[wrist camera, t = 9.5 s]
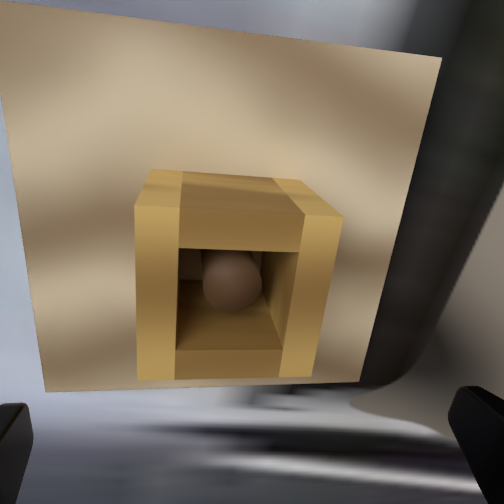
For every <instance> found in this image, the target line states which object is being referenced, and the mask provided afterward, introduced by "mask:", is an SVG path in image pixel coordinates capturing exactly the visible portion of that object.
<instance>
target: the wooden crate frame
mask: <svg viewBox="0 0 504 504" xmlns="http://www.w3.org/2000/svg"><path fill="white" fill-rule="evenodd" d="M134 218H135V278H136V339H137V381H147V380H191V379H235V378H278V377H311V375H312V370H313V365H314V360H315V355H316V350H317V346H318V341H319V336H320V331H321V326H322V321H323V316H324V312H325V307H326V302H327V297H328V292H329V287H330V282H331V278H332V273H333V268H334V263H335V258H336V253H337V249H338V244H339V239H340V234H341V229H342V224H343V219H344V216H342V215H341V214H340V213H339V212H338V211H336V210H335V209H334V208H333V207H332V206H330V205H329V204H328V203H327V202H326V201H324V200H323V199H322V198H321V197H320V196H318V195H317V194H316V193H315V192H314V191H313V190H311V189H310V188H309V187H308V186H307V185H305V184H304V183H303V182H302V181H301V180H297V179H283V178H270V177H256V176H242V175H229V174H215V173H202V172H188V171H174V170H161V169H151V171H150V173H149V175H148V177H147V179H146V181H145V184H144V186H143V188H142V190H141V192H140V194H139V196H138V198H137V200H136V203H135V205H134ZM180 248H194V249H220V250H246V251H263V252H262V260H261V268H260V276H261V279H262V289H261V293H260V295H259V297H258V298H257V300H256V301H255V302H254V303H253V304H252V305H250V306H249V307H247V308H246V309H243V310H240V311H236V312H226V311H221V310H219V309H216V308H215V307H213V306H212V305H211V304H210V303H209V302H208V301H207V299H206V298H205V295H204V292H203V280H184V279H179V271H180Z"/></svg>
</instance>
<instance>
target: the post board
mask: <svg viewBox="0 0 504 504" xmlns="http://www.w3.org/2000/svg"><path fill="white" fill-rule="evenodd" d="M441 60H442V58H439V57H432V56H424V55H416V54H409V53H401V52H393V51H386V50H378V49H370V48H363V47H355V46H347V45H340V44H332V43H324V42H317V41H309V40H301V39H293V38H286V37H278V36H270V35H263V34H255V33H247V32H240V31H232V30H224V29H217V28H209V27H201V26H194V25H186V24H178V23H171V22H163V21H155V20H148V19H140V18H132V17H125V16H117V15H109V14H102V13H94V12H86V11H79V10H71V9H63V8H56V7H48V6H40V5H33V4H25V3H17V2H10V1H2V0H0V93H1V99H2V106H3V112H4V119H5V126H6V132H7V139H8V146H9V152H10V159H11V166H12V172H13V179H14V186H15V192H16V199H17V206H18V212H19V219H20V226H21V232H22V239H23V246H24V252H25V259H26V266H27V272H28V279H29V285H30V292H31V299H32V305H33V312H34V319H35V325H36V332H37V339H38V345H39V352H40V359H41V365H42V372H43V379H44V385H45V392H72V391H101V390H131V389H160V388H189V387H218V386H248V385H277V384H306V383H336V382H359V379H360V375H361V371H362V367H363V363H364V359H365V355H366V352H367V348H368V344H369V340H370V336H371V332H372V328H373V324H374V321H375V317H376V313H377V309H378V305H379V301H380V297H381V293H382V289H383V286H384V282H385V278H386V274H387V270H388V266H389V262H390V258H391V254H392V251H393V247H394V243H395V239H396V235H397V231H398V227H399V223H400V219H401V216H402V212H403V208H404V204H405V200H406V196H407V192H408V188H409V184H410V181H411V177H412V173H413V169H414V165H415V161H416V157H417V153H418V150H419V146H420V142H421V138H422V134H423V130H424V126H425V122H426V118H427V115H428V111H429V107H430V103H431V99H432V95H433V91H434V87H435V83H436V80H437V76H438V72H439V68H440V64H441ZM151 169H161V170H174V171H188V172H202V173H215V174H229V175H242V176H256V177H270V178H283V179H297V180H301V181H302V182H303V183H304V184H305V185H307V186H308V187H309V188H310V189H311V190H313V191H314V192H315V193H316V194H317V195H318V196H320V197H321V198H322V199H323V200H324V201H326V202H327V203H328V204H329V205H330V206H332V207H333V208H334V209H335V210H336V211H338V212H339V213H340V214H341V215H342V216H344V219H343V224H342V229H341V234H340V239H339V244H338V249H337V253H336V258H335V263H334V268H333V273H332V278H331V282H330V287H329V292H328V297H327V302H326V307H325V312H324V316H323V321H322V326H321V331H320V336H319V341H318V346H317V350H316V355H315V360H314V365H313V370H312V375H311V377H278V378H235V379H191V380H147V381H137V339H136V278H135V218H134V205H135V203H136V200H137V198H138V196H139V194H140V192H141V190H142V188H143V186H144V184H145V181H146V179H147V177H148V175H149V173H150V171H151ZM262 252H263V251H246V250H220V249H194V248H180V271H179V279H184V280H203V292H204V295H205V298H206V299H207V301H208V302H209V303H210V304H211V305H212V306H213V307H215V308H216V309H219V310H221V311H226V312H236V311H240V310H243V309H246V308H247V307H249V306H250V305H252V304H253V303H254V302H255V301H256V300H257V298H258V297H259V295H260V293H261V289H262V279H261V276H260V268H261V260H262Z"/></svg>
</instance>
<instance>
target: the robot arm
mask: <svg viewBox="0 0 504 504" xmlns="http://www.w3.org/2000/svg"><path fill="white" fill-rule="evenodd" d="M448 421H449V424H450V426H451V429H452V431H453V433H454V435H455V437H456V439H457V441H458V443H459V446H460V448H461V450H462V452H463V454H464V456H465V458H466V460H467V462H468V464H469V467H470V469H471V471H472V473H473V475H474V477H475V479H476V481H477V483H478V485H479V487H480V489H481V491H482V493H483V495H484V497H485V499H486V501H487V502H488V504H504V400H503V399H501V398H499V397H498V396H496V395H494V394H492V393H490V392H489V391H487V390H485V389H483V388H481V387H479V386H462V387H460V388H458V390H457V392H456V394H455V397H454V399H453V401H452V404H451V407H450V409H449V412H448ZM32 445H33V430H32V424H31V419H30V413H29V408H28V406H27V404H25V403H5V404H1V405H0V504H15V503H16V500H17V496H18V493H19V490H20V486H21V483H22V480H23V476H24V473H25V470H26V466H27V463H28V459H29V456H30V453H31V449H32Z"/></svg>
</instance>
